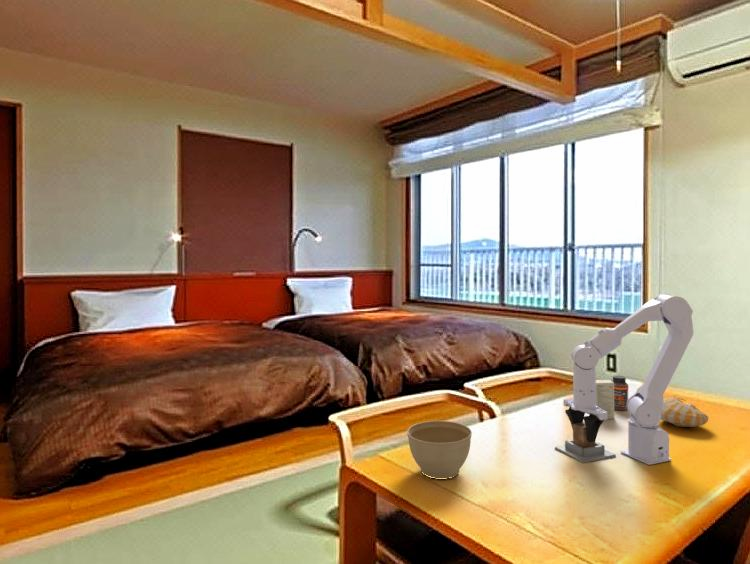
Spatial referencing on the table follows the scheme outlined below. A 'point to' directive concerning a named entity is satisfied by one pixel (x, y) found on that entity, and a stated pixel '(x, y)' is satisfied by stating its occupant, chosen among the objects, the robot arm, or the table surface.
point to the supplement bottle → (620, 393)
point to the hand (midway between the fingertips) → (584, 438)
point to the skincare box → (605, 396)
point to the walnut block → (581, 436)
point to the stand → (585, 452)
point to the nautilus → (682, 413)
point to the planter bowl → (439, 447)
